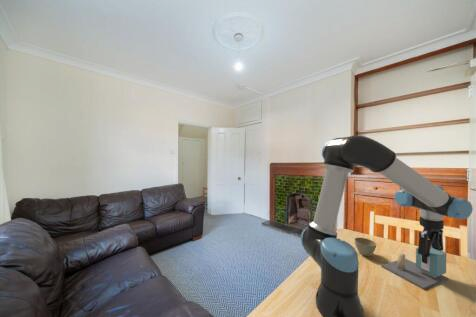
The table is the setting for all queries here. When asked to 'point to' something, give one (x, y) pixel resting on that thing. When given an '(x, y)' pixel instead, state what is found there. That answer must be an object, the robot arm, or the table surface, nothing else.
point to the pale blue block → (434, 262)
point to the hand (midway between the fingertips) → (430, 267)
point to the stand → (413, 272)
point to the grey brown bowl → (365, 246)
